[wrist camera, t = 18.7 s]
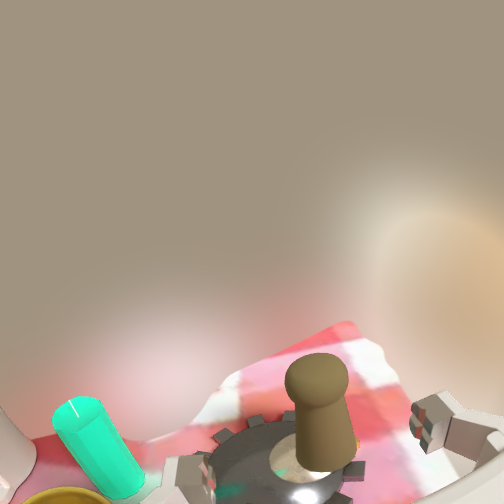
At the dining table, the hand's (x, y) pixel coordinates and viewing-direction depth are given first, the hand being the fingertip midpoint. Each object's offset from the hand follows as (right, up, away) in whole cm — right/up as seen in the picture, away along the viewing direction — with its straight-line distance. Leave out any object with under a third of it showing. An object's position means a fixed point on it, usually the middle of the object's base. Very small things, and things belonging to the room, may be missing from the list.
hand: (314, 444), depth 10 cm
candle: (-17, -18, +16) cm, 29 cm away
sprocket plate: (0, -14, +16) cm, 21 cm away
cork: (+5, -12, +16) cm, 20 cm away
